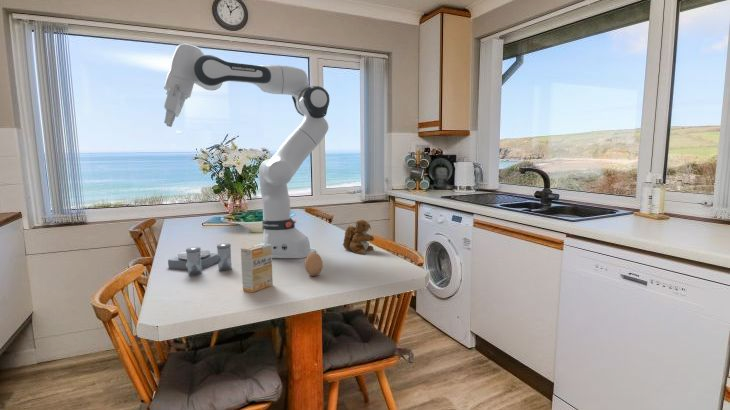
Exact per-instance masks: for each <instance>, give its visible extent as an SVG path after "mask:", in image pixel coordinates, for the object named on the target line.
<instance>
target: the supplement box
mask: <svg viewBox="0 0 730 410" xmlns="http://www.w3.org/2000/svg"><path fill="white" fill-rule="evenodd" d="M240 257H241V259H240V260H241V277H242V278H241V280H242V281H241V282H242V290H243V291H246V292H249V293H256V292H258V291H260V290H262V289H265V288H268V287H270V286H273V281H274V280H273V279H274V278H273V258H272V250H271V245H270V244H264V243H263V242H260V243H258V244H254V245H253V244H252V245H249V246H246V247H241V248H240Z"/></svg>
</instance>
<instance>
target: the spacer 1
mask: <svg viewBox="0 0 730 410" xmlns="http://www.w3.org/2000/svg"><path fill="white" fill-rule="evenodd" d="M200 250H202V248H201V247H200V246H191V247H187V248H186V249H185V251H186V253H187V266H188V270H187V276H189V277H194V276H196V277H197V276H199V275H202V274H203V269H202V265H201V251H200Z"/></svg>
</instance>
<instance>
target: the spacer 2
mask: <svg viewBox="0 0 730 410" xmlns="http://www.w3.org/2000/svg"><path fill="white" fill-rule="evenodd" d="M216 250H217V252H216V253H217V254H218V262H217V265H218V267H217V268H218V271H219V272H227V271H231V270H232V269H233V268H232V266H233V265H232V253H231V251H232V250H231V243H226V242H225V243H219V244H217V245H216Z"/></svg>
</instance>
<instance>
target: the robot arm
mask: <svg viewBox="0 0 730 410" xmlns="http://www.w3.org/2000/svg"><path fill="white" fill-rule="evenodd" d="M307 75H308V74H307V72H306V71H305V70H304V69H302V68H298V67H294V66H288V65H280V64H265V65H264V64H261V65H260V64H259V65H257V64H256V65H255V64H254V65H253V64H247V63H239V62H238V63H237V62H230V61H226V60H223V59H221V58H220V57H218V56H215V55H212V54H204V52H203V51H202V50H201V48H200V47H198V46H196V45H194V44H190V43H181V44H179V45H178V46H177V47H176V49H175V51H174V53H173V55H172V57H171V61H170V70H169V72H168V73H167V76H166V79H165V81H164V82H165V83H164V85H163V89H164V90H166V97H165V98H166V99H165V102H164V105H163V106H164V109H165V117H164V122H163V123H164V124H166V126H167V127H169V128H172V127H173V125H174V124H173V123H174V121H175V119H176V118H178V117H179V115H180V114H181V111H182V109H183V106H184V105H185V102H186V100H188V98H189V99H190V98H191V95H192V93H193V89H194V86H195V85H194V84H196V85H197V86H199V87H201V88H202V89H203V90H207V91H211V92H212V91H216V90H218V89H220V88H221V87H222V86H223V83H226V82H236V83H237V82H238V83H248V84H253V85H255V86H256V87H258V88H259V90H261V91H262V92H264V93H266V94H272V95H288V96H291V99H292V101H293V104H294V108H295V110H296V112H297V113H298V114H299V115H300V116H303V119H302V121H301V123H300V124H299V125H298V126H297V127H295V129H294V130H293V131H292V132H291V133H290V134H289V136H288V137H287V138H286V139H285V140H284V141H283V142H282V144H281V145H280V146H279V149H277V151H276V152H275V153H274V154H273V156H272V157H271V158H266V159H265V160H263V161H262V162H261V163H260V164H259V168H258V176H259V184H260V185H259V186H260V194H261V201H262V202H261V203H262V219H261V221H262V222H261V224H262V226H261V227H262V232H263V234H262V243H264V244H270V245H271V250H272V259H303V258H307V256H308V255H309V254H310V253H313V252H314V253H316V248H315V247H312V246H311V244H310V239H309V237H308V236H307V235H306V234H304V233H303V232H302V231H300V230H299V229H298V228H297V227H295V226H296V223H297V220H296V219H292V218H291V217H292V216H291V199H290V195H289V190H288V183H289V182H290V181H291V180H292V178H293V176H295V174H296V173H297V171H298V170H299V169H300V167H301V165H303V163H304V161H305V160H306V159H307V158H308V157H309V156H310V154H311V153H312V152H313V151H314V150H315V149H316V148H317V147H318V145H319V144H320V143H321V142H322V141H323V139H324V138H325V136H326V134H327V132H328V131H329V123H328V121H327V119H326V118H325V117H326V116H327V113H328V108H329V106H330V95H329V93H328V91H327V89H325V88H324V87H322V86H319V85H312V86H311V85H310V83H309V79H308V76H307Z"/></svg>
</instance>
